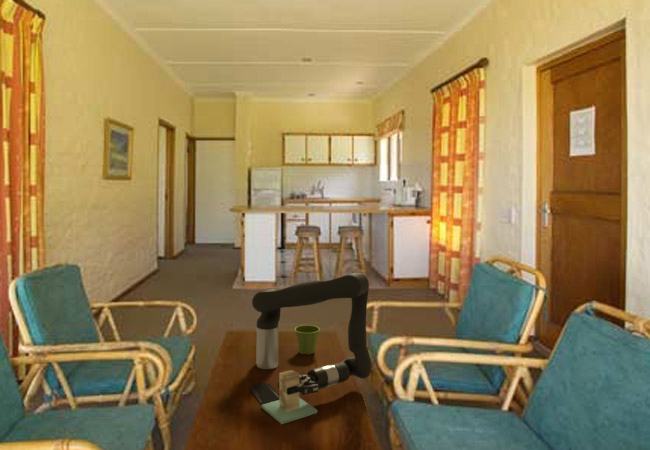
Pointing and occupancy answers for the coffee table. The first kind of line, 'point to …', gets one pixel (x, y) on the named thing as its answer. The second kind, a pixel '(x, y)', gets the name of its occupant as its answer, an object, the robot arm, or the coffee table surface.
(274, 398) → the phone
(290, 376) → the birch block
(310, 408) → the green square tile
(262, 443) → the coffee table surface
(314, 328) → the plant pot
